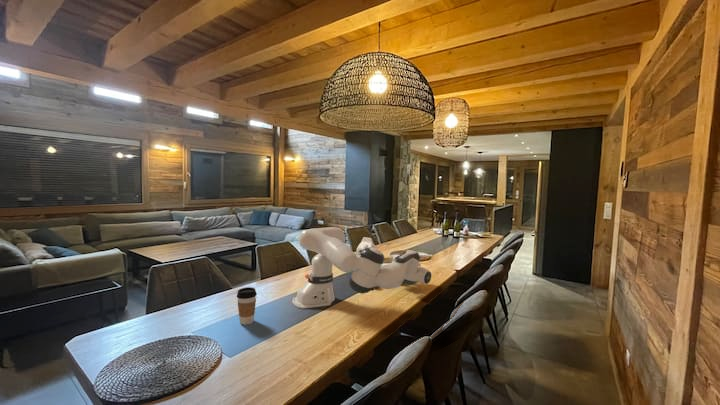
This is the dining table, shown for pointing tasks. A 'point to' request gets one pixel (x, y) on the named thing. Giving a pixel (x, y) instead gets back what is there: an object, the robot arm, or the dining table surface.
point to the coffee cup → (246, 305)
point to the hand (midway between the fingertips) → (395, 264)
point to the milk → (365, 244)
